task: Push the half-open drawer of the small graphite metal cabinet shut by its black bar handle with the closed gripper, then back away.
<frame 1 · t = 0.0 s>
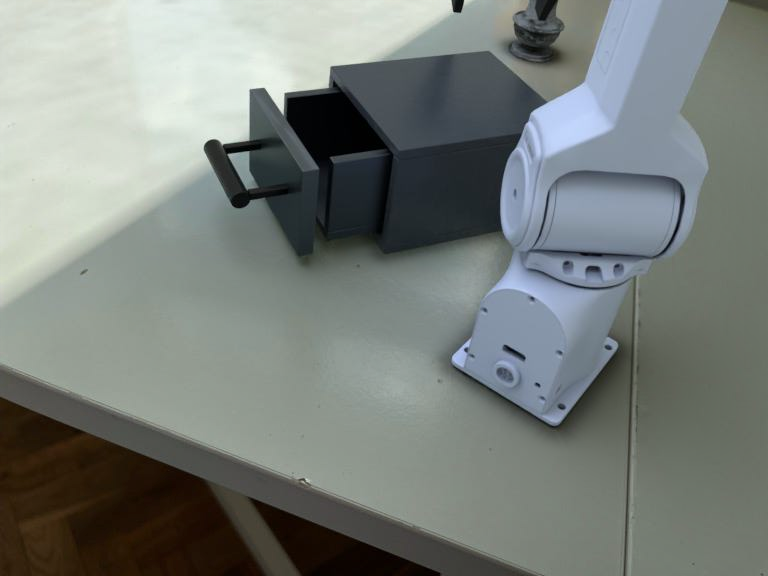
hand: (498, 10, 70), 11 cm above the table, tool pointing down, fingers open, 7 cm apart
drawer: (331, 162, 59), point 5 cm above the table, slide at 5.5 cm
ornate metal candlestick: (530, 53, 90), on the table
cabinet: (431, 192, 66), on the table
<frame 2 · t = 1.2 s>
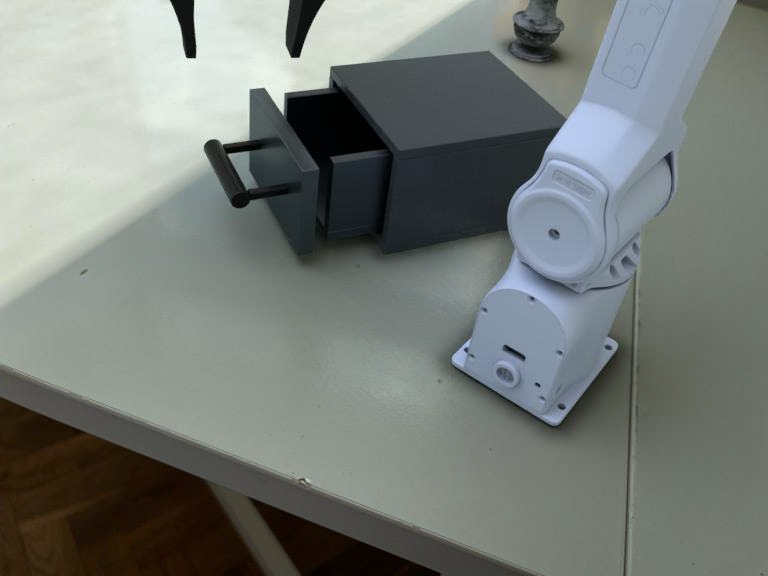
hand: (242, 51, 58), 10 cm above the table, tool pointing down, fingers open, 7 cm apart
nothing on the table moved.
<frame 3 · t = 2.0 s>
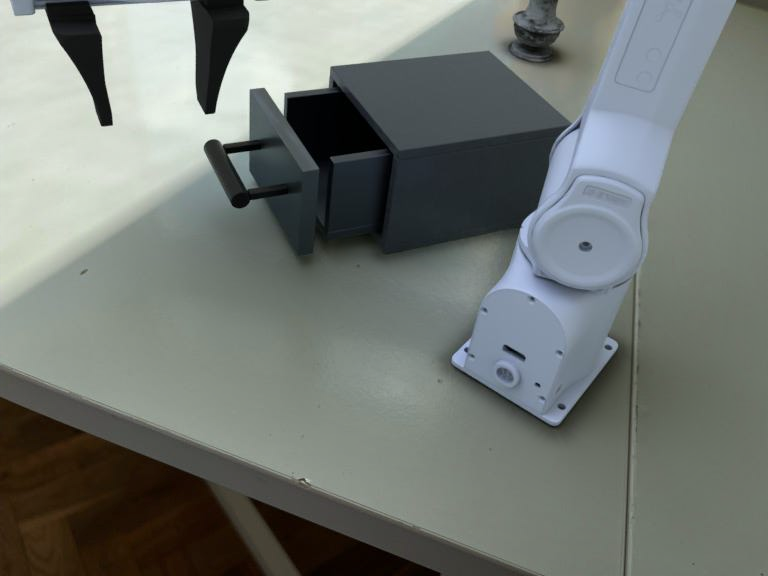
hand: (156, 112, 51), 10 cm above the table, tool pointing down, fingers open, 6 cm apart
nothing on the table moved.
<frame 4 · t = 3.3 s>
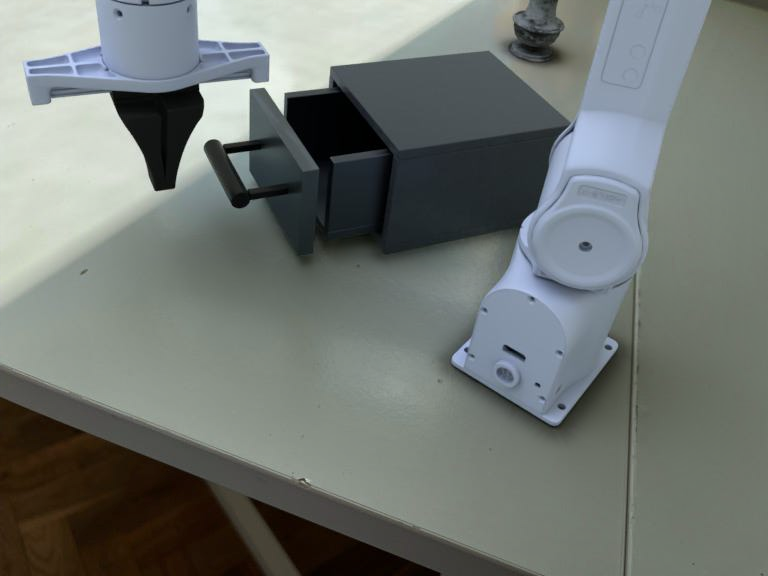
hand: (161, 182, 54), 5 cm above the table, tool pointing down, fingers closed
nothing on the table moved.
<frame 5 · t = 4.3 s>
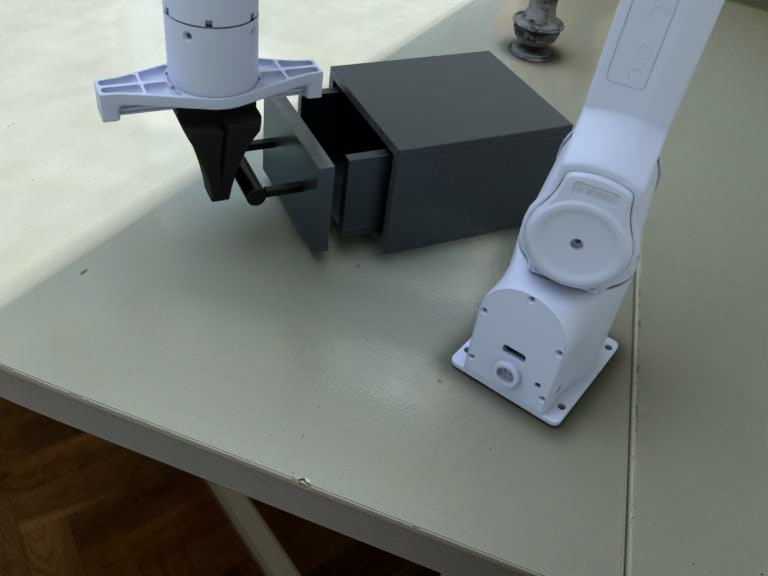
hand: (217, 193, 57), 3 cm above the table, tool pointing down, fingers closed
drawer: (345, 160, 60), point 5 cm above the table, slide at 4.4 cm, touching gripper
everything else where it was.
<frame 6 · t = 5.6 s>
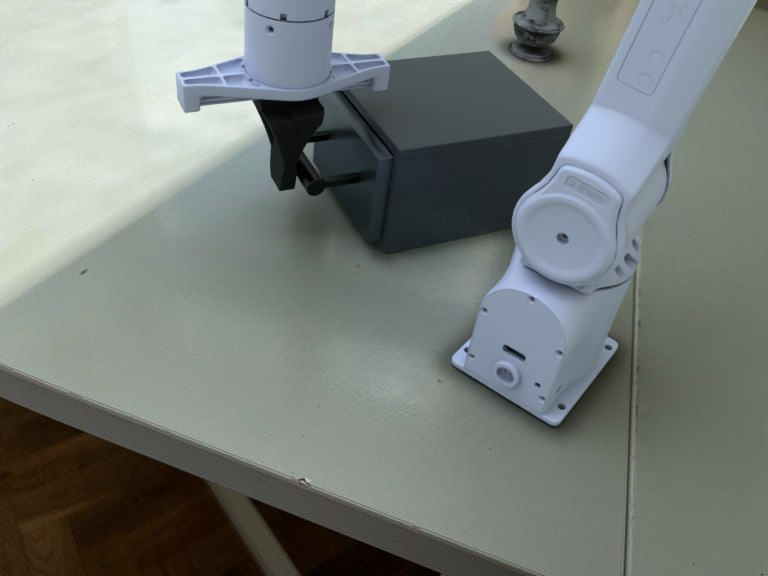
hand: (282, 182, 59), 3 cm above the table, tool pointing down, fingers closed, pressing on drawer
drawer: (396, 152, 61), point 5 cm above the table, slide at 0.0 cm, touching cabinet, gripper
everything else where it was.
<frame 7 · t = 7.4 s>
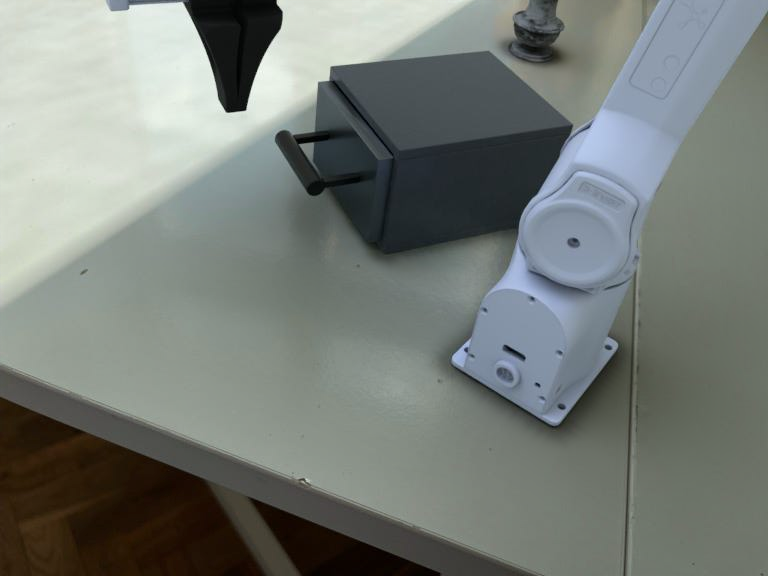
hand: (232, 104, 52), 10 cm above the table, tool pointing down, fingers closed
drawer: (396, 152, 61), point 5 cm above the table, slide at 0.0 cm, touching cabinet
everything else where it was.
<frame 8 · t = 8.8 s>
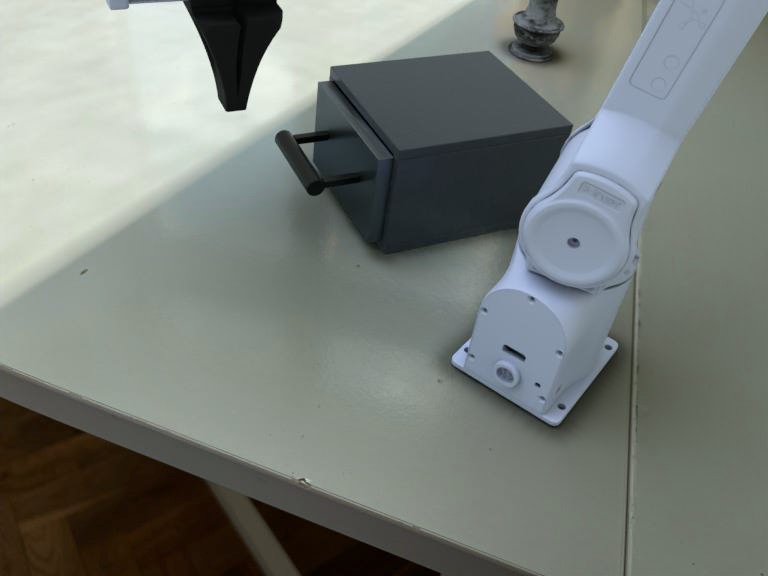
hand: (232, 103, 52), 10 cm above the table, tool pointing down, fingers closed
nothing on the table moved.
at the end: drawer slide at 0.0 cm; ornate metal candlestick moved 0.2 cm from its start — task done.
